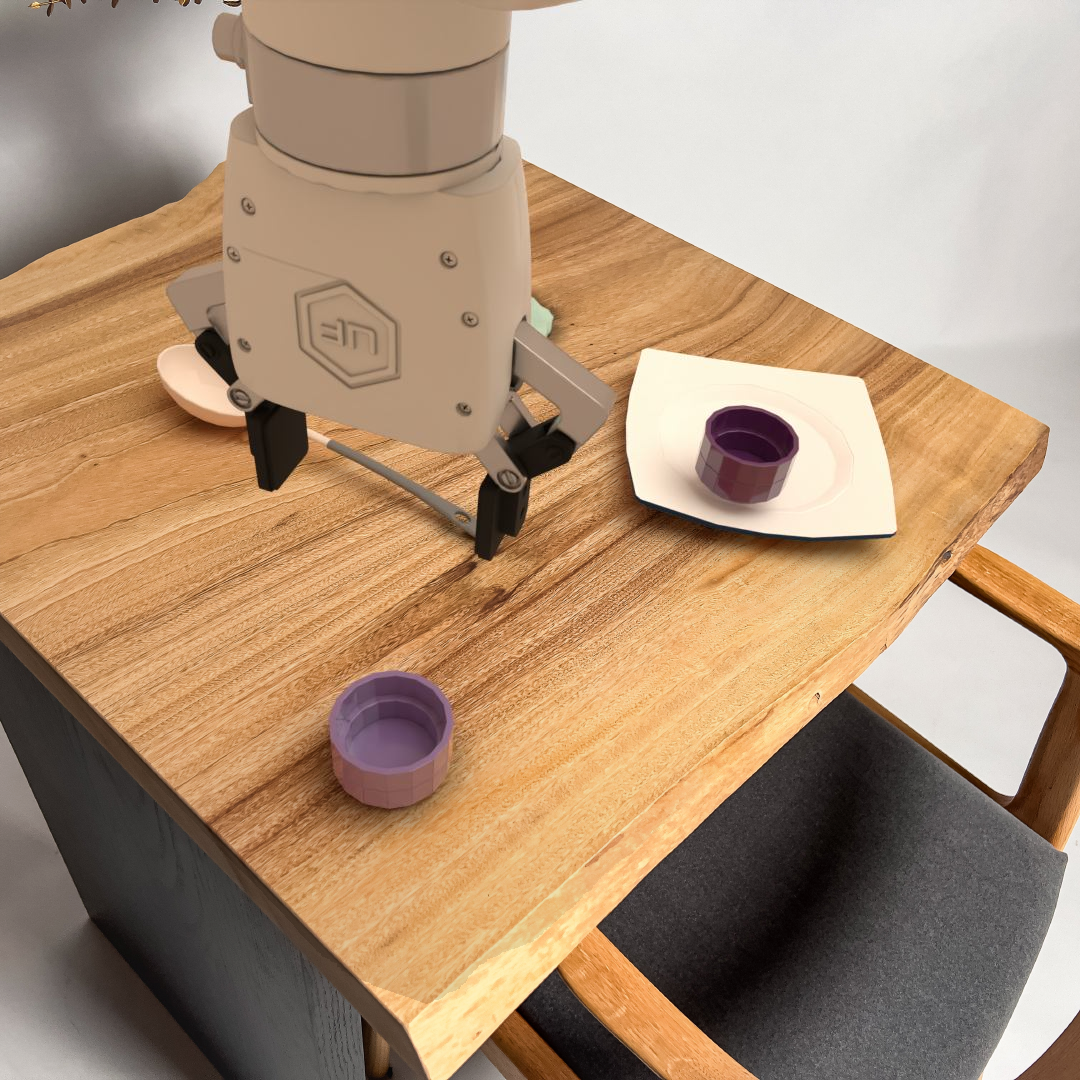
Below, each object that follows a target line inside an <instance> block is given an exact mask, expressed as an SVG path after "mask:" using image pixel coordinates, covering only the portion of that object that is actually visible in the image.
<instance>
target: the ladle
mask: <svg viewBox="0 0 1080 1080" xmlns="http://www.w3.org/2000/svg"><path fill="white" fill-rule="evenodd" d="M156 369H157V374H158V376H159V379H160V382H161V384H162V387H163V388H164V390H165V391H166V392H167V393H168V394H169V395H170V397H171V398H172V399H173V400H174V401H175V403H176V404H177V405H178V406H179V407H180V408H182V409H183V410H185V411H186V412H187V413H188V414H190V415H192V416H194V417H196V418H197V419H199V420H201V421H204V422H207V423H210V424H214V425H215V426H220V427H227V428H228V427H229V428H240V427H247V425H246V419H245V412H244V411H240V410H238V409H237V408H235V407H234V406H233V405H232V404H231V403H230V401H229V399H228V397H227V390H228V388H229V387H230V386H229V385H228V384H227V383H226V382H225V381H224V380H223V379H222V378H221V377H220V376H219V375H218V374H217V373H216V372H215V371H214V370H213V369H212V367H211V366H210V365H209V364H208V363H207V362H206V361H205V360H204V359H203V358H202V357H201V356H200V355H199V353H198V352H197V350H196V348H195V344H192V343H188V344H187V343H186V344H185V343H184V344H175V345H172V346H169V347H167V348H164V349H163V350H162V351H161V352H160V353H159V354H158V355H157V359H156ZM307 433H308V440H311V441H313V442H315V443H318V444H320V445H321V446H322V447H326V449H328V450H330V451H332V452H334V453H336V454H338V455H341V456H342V457H343V458H346V459H348V460H350V461H353V462H354V463H356V464H358V465H359V466H362V467H363V468H365V469H367V470H370V471H371V472H373V473H375V474H377V475H378V476H380V477H382V478H384V479H386V480H387V481H389V482H391V483H392V484H394V485H396V486H398V487H400V488H401V489H403V490H404V491H406V492H408V493H410V494H411V495H413V496H415V497H416V498H417V499H419V500H420V501H422V502H423V503H424V504H426V505H428V507H430V508H431V509H433V510H434V511H435V512H436V513H438V514H440V515H441V516H442V517H444V518H445V519H446V520H448V521H449V522H451V523H452V524H454V525H456V526H458V528H459V529H461V530H462V531H464V532H466V534H468V535H470V536H472V537H473V538H475V534H476V520H477V517H475V516H474V515H472V514H470V513H468V512H467V511H466V510H465V509H463V508H461V507H460V506H458V505H456V504H454V503H453V502H451V501H449V500H447V499H445V498H444V497H442V496H440V495H439V494H437V493H435V492H433V491H432V490H429V489H428V488H426V487H424V486H423V485H421V484H418V483H417V482H416V481H414V480H412V479H410V478H408V477H407V476H405V475H403V474H401V473H399V472H397V471H396V470H394V469H392V468H391V467H388V466H386V465H385V464H383V463H381V462H379V461H377V460H375V459H373V458H372V457H369V456H367V455H365V454H363V453H361V452H359V451H357V450H355V449H354V448H351V447H350V446H347V445H345V444H343V443H341V442H339V441H337V440H334V439H331V438H329V437H327V436H325V435H323V434H322V433H318V432H317V431H314V430H313V429H310V428H309V427H307ZM456 515H460V516H463V517H464V518H466V519H467V520H468V523H467V522H466V523H465V522H462V521H460V520H459V519H457V517H456Z"/></svg>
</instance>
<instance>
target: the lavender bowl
mask: <svg viewBox="0 0 1080 1080" xmlns="http://www.w3.org/2000/svg"><path fill="white" fill-rule="evenodd" d="M454 719H455V718H454V715H453V710H452V704H451V701H450V699H448V697H447V696H446V694H445V693H444V692H443V691H442V689H441V688H440V686H438V685H437V684H436V683H434V682H433V681H431V680H429V679H427V678H425V677H424V676H423V675H421V674H417V673H413V672H407V671H404V670H398V669H394V670H387V671H386V670H385V671H377V672H372V673H370V674H368V675H366V676H363V677H361V678H359V679H357V680H355V681H353V682H351V683H350V684H349V685H348V686H347V687H346V688H345V689H344V690H343V691H342V692H341V693H340V694H339V695H338V696H337V697H336V699H335V701H334V703H333V706H332V708H331V711H330V714H329V716H328V728H329V741H330V748H331V759H332V769H333V775H334V776H335V778H336V779H337V781H338V783H339V785H340V786H341V788H342V789H343V790H344V791H345V792H346V794H348V795H350V796H351V797H352V798H354V799H356V800H357V801H359V802H360V803H362V804H364V805H367V806H368V805H369V806H373V807H378V808H383V809H387V810H390V809H396V808H404V807H410V806H413V805H414V804H416V803H418V802H420V801H421V800H423V799H425V798H426V797H430V795H432V794H433V793H435V791H436V790H437V789H438V788H439V787H440V785H441V784H442V783H443V782H444V781H445V779H446V778H447V777H448V774H449V771H450V765H451V762H452V760H453V759H452V758H453V747H454V731H455V720H454Z"/></svg>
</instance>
